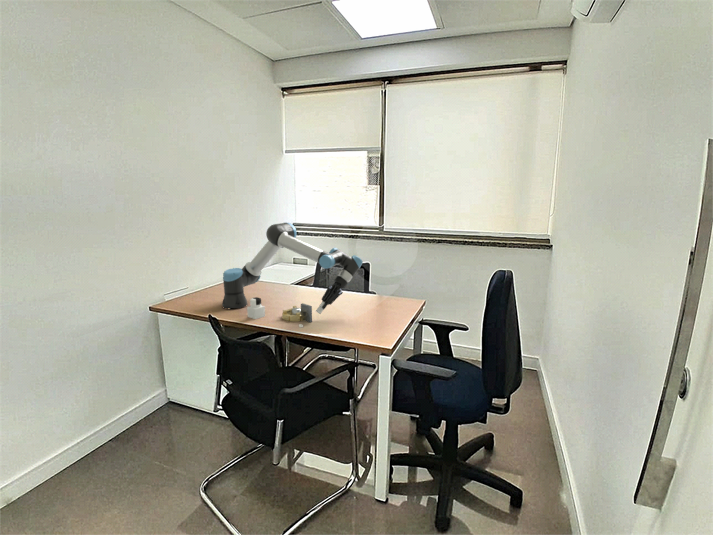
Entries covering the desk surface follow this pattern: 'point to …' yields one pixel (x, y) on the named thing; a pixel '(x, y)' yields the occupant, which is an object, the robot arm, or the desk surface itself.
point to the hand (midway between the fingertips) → (318, 312)
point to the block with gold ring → (298, 314)
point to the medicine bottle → (255, 308)
